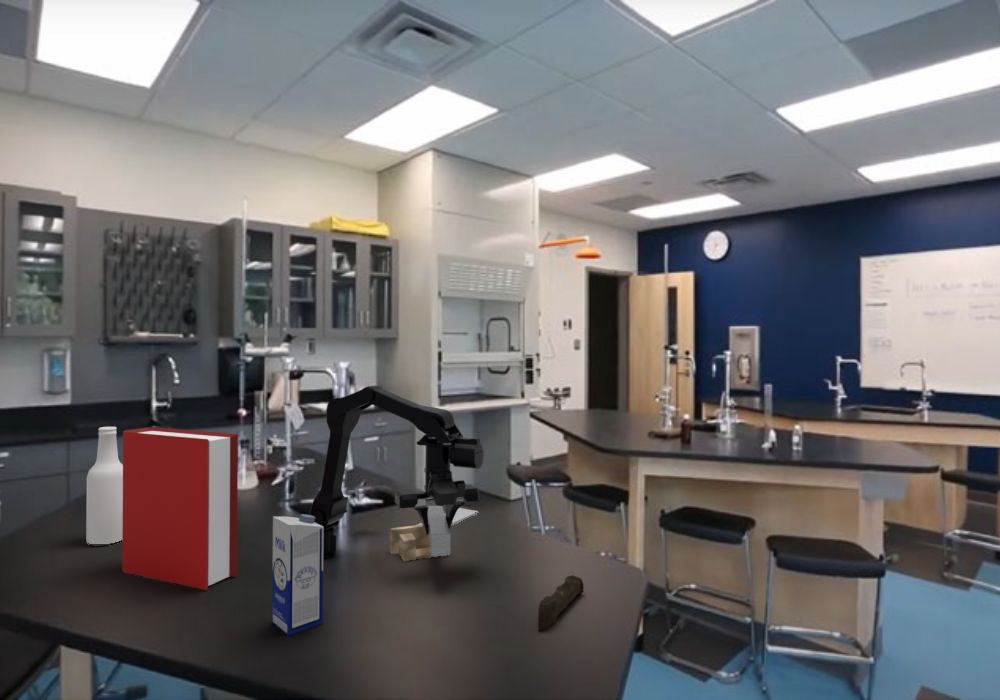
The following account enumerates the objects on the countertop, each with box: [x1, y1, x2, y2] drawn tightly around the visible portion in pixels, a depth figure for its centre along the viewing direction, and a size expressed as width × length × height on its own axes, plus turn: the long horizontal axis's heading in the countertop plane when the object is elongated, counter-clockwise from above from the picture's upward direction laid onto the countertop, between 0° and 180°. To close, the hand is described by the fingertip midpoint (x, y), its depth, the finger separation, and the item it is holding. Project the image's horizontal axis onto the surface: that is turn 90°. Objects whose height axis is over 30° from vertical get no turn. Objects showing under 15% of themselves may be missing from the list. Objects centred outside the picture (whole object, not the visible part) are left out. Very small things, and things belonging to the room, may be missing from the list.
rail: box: [426, 505, 452, 557], centre depth 131 cm, size 4×22×4 cm, turn 10°
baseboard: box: [417, 504, 480, 527], centre depth 167 cm, size 30×3×10 cm
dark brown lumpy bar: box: [537, 575, 584, 631], centre depth 112 cm, size 19×4×5 cm, turn 150°
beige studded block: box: [389, 524, 448, 562], centre depth 143 cm, size 15×8×6 cm, turn 112°
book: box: [121, 426, 239, 591], centre depth 129 cm, size 27×8×32 cm, turn 68°
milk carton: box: [271, 513, 324, 636], centre depth 106 cm, size 7×7×20 cm
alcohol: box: [85, 426, 123, 545], centre depth 150 cm, size 9×9×30 cm
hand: (437, 533), depth 131 cm, fingers closed on rail, 4 cm apart
